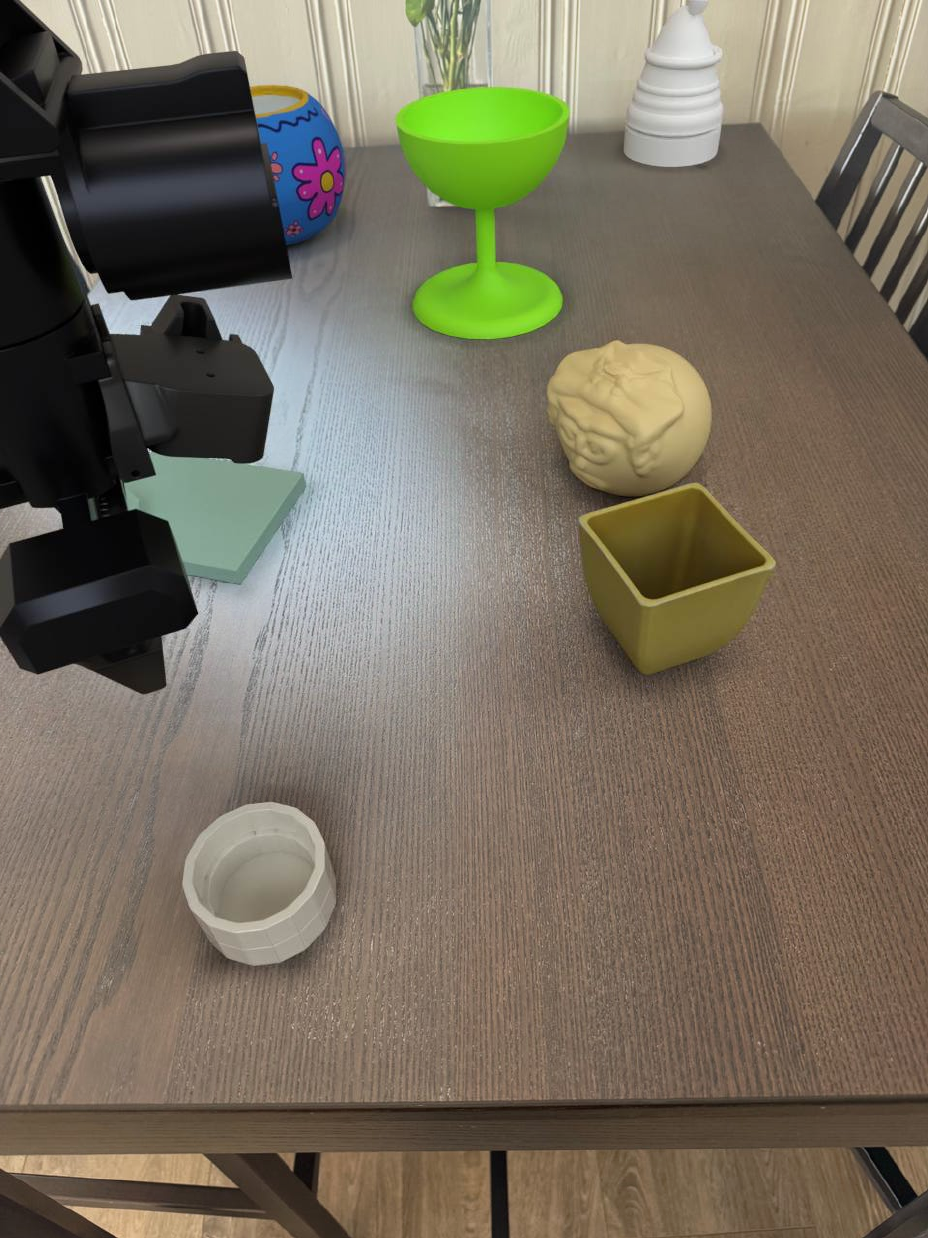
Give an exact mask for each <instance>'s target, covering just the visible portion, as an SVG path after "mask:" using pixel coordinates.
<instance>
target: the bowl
mask: <svg viewBox="0 0 928 1238" xmlns="http://www.w3.org/2000/svg"><path fill="white" fill-rule="evenodd" d="M181 887H182V889H183V892H184V896H185V898H186V901H187V904H188V906H189V907H188V908H189V909H190V911H191V912H192V914H193V916H194V917H195V919H196V921H197V923H198V924H199V926H200V927H201V929H202V931H203V932H204V934H205V936H206V937H207V939H208V941H209V943H210V944H212V946H214V947H215V948H216V949H217V950H218V951H219V952H220V953H221V954H222V955H223V956H224V957H225V958H227V959H229V960H231V961H235V962H239V963H242V964H245V965H249V966H253V967H255V966H257V967H258V966H264V965H272V964H280V963H282V962H284V961H286V960H289V959H290V958H292V957H294V956H296V955H298V954H300V953H302V952H304V951H306V949H308V948H309V947H310V946H311V945H312V944H313V942H314V941H316V939H317V938H318V937H319V936H320V935H321V934H322V932H324V931H325V930H326V927H327V926H328V924H329V921H330V919H331V916H332V914H333V912H334V909H335V906H336V904H337V877H336V874H335V870H334V867H333V864H332V862H331V858H330V855H329V852H328V848H327V845H326V843H325V840H324V838H323V836H322V834H321V832H320V830H319V828H318V826H317V823H316V822H315V820H313V819H311V818H310V817H309V816H307V815H306V814H305V813H303V811H302V810H300V809H298V808H297V807H295V806H291V805H286V804H283V803H279V802H274V801H264V802H257V803H255V802H254V803H246V804H243V805H241V806H238V807H237V808H234V809H232V810H230V811H228V812H226V813H223V814H221V815H220V816H218V817H217V818H216V819H215V820H213V822H212V823H210V824H209V825H208V826H207V827H206V828H205V829H204V830H203V831H201V832H200V833H199V835H198V836H197V837H196V839H195V840H194V842H193V844H192V846H191V848H190V850H189V851H188V854H187V855H186V857H185V860H184V867H183V874H182V882H181Z"/></svg>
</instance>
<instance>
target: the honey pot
mask: <svg viewBox="0 0 928 1238" xmlns="http://www.w3.org/2000/svg"><path fill="white" fill-rule="evenodd" d="M709 1H710V0H687V5H680V7H679V8H677V9H676V10H675V11H674V12H673V13H671V15H670V16H669V17H668V18H667V20H666V22H665V23H664V24H663V26H662V28H661V30H660V31H659V32H658V34H657V36H656V39H655V41H654V43H653V44H652V45H651V46H649V47H648V48H646V50H645V51H644V53H643V56H644V57H643V58H644V60H645V63H644V65H643V68H642V71H641V73H640V75H639V76H638V78H637V80H636V87H635V88H634V90H633V92H632V98H631V100H630V101H629V103H628V105H627V107H626V116H625V127H624V138H623V154H624V155H625V156H626V158H628V159H630V160H631V161H633V162H637V163H639V164H642V165H648V166H652V167H661V168H679V167H680V168H681V167H693V166H696V165H701V164H703V163H704V164H705V163H707V162H709V161H711V160H713V159H714V158H715V157H716V156H717V154H718V151H719V145H720V139H721V133H722V123H723V116H724V114H725V112H724V105H723V101H722V100H721V99H722V92H721V88H720V85H721V80H720V77H719V75H718V71H717V64H718V63H720V62H721V61H722V59H723V57H724V52H723V49H722V48H721V47H719V46H718V45H717V44H713V43H712V41H711V37H710V34H709V30H708V28H707V25H706V22H705V21H704V18H703V17H702V15H701V14H702V13H704V11H705V10H706V9H707V7H708V4H709Z"/></svg>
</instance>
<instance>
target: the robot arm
mask: <svg viewBox="0 0 928 1238" xmlns="http://www.w3.org/2000/svg"><path fill="white" fill-rule="evenodd" d="M82 73H83V61H82V60H81V57H80V56H79V55H78V54H77V53H76V52H75V51H74V50H73V49H72V48H70V46H69V45H68V44H66V43H65V41H63V39H61V37H59V36H58V35H57V34H56V33H55V32H54V31H53V30H52V29H50V27H49V26H47V24H45V22H43V21H42V20H41V19H40V18H39V17H38V16H37V15H36V14H35V13H34V12H33V11H32V10H31V9H30V8H29V7H28V6H27V5H25V3H24V2H22V1H21V0H0V510H3V509H7V508H11V507H14V506H15V507H16V506H18V505H21V504H27V503H29V505H30V507H31V508H33V509H52V508H54V509H55V511H57V512H58V514H60V517H61V522H62V524H63V528H59V529H56V530H53V531H48V532H45V533H42V534H38V535H34V536H31V537H27V538H24V539H19V540H16V541H12V542H9V543H8V545H7V546H6V548H5V550H4V551H3V553H2V554H1V557H0V640H1V641H2V643H3V644H4V645H5V647H6V649H7V650H8V652H9V654H10V655H11V656H12V658H13V660H14V662H15V663H16V665H17V666H18V668H19V669H20V670H22V671H24V672H25V671H26V672H29V673H32V674H33V675H34V674H35V675H38V676H39V675H42V674H45V673H48V672H51V671H54V670H55V671H56V670H58V669H62V668H64V667H67V666H70V665H74V664H75V665H77V666H80V667H83V668H84V669H87V670H89V671H91V672H93V673H95V674H98V675H100V676H102V677H104V678H106V679H108V680H111V681H113V682H114V683H117V684H119V685H121V686H123V687H125V688H128V689H129V690H132V691H134V692H136V693H138V694H140V695H149V694H151V693H154V692H155V693H156V692H159V691H161V690H164V689H165V688H166V686H167V685H168V683H167V675H166V666H165V665H166V663H165V655H164V646H163V637H164V636H167V635H171V634H174V633H177V632H179V631H183V630H187V629H188V627H189V626H190V624H192V622H193V621H194V620H195V619H196V618H197V617H198V615H199V611H198V607H197V604H196V600H195V597H194V594H193V591H192V587H191V584H190V580H189V577H188V575H187V573H186V570H185V567H184V564H183V561H182V558H181V555H180V552H179V549H178V546H177V543H176V540H175V538H174V535H173V532H172V530H171V527H170V524H169V522H168V521H167V520H164V519H162V518H159V517H156V516H154V515H151V514H149V513H146V512H143V511H141V510H138V509H133V510H129V508H128V504H127V498H126V492H125V486H124V483H129V482H133V481H136V480H140V479H144V478H148V477H151V476H155V475H156V472H155V469H154V466H153V462H152V460H151V457H150V454H149V453H150V452H151V451H152V452H154V453H156V454H159V455H163V456H168V457H186V458H209V459H216V460H221V459H223V460H230V461H231V462H234V463H237V464H249V465H251V464H254V463H257V462H259V461H261V460H262V459H263V458H264V456H265V450H266V443H267V437H268V430H269V425H270V419H271V418H270V417H271V412H272V405H273V400H274V393H275V386H274V383H273V382H272V380H271V378H270V376H269V374H268V372H267V369H266V368H265V366H264V365H263V363H262V360H261V358H260V357H259V355H258V353H257V351H256V350H255V349H254V348H252V347H251V346H249V345H248V344H245V343H244V342H243V341H242V339H241V337H240V335H239V334H235V333H229V335H228V339H223V336H222V334H221V332H220V328H219V327H218V324H217V321H216V319H215V317H214V315H213V312H212V311H211V309H210V306H209V304H208V302H207V300H206V299H205V298H204V297H199V296H191V295H185V294H192V293H198V292H199V293H200V292H205V291H206V292H207V291H212V290H222V289H228V288H235V287H243V286H249V285H251V286H252V285H256V284H263V283H270V282H271V283H272V282H280V281H285V280H286V281H287V280H293V273H292V268H291V262H290V258H289V252H288V251H289V250H288V245H286V240H285V235H284V230H283V224H282V219H281V214H280V208H279V203H278V198H277V193H276V187H275V182H274V177H273V172H272V167H271V162H270V157H269V152H268V147H267V143H261V141H260V135H259V130H258V125H257V120H256V115H255V110H254V105H253V100H252V95H251V90H250V87H251V85H250V79H249V75H248V70H247V65H246V59H245V57H244V56H243V55H242V54H241V53H240V52H239V51H238V50H230V51H220V52H211V53H210V52H209V53H204V54H199V55H196V56H194V57H191V58H189V59H186V60H184V61H182V62H179V63H174V64H168V65H158V66H149V67H148V66H147V67H140V68H130V69H129V68H128V69H120V70H111V71H110V70H109V71H102V72H101V71H100V72H93V73H83V74H82ZM43 177H50V178H51V181H52V184H53V187H54V190H55V193H56V195H57V199H58V202H59V205H60V209H61V213H62V216H63V219H64V223H65V226H66V229H67V233H68V235H69V237H70V240H71V243H72V245H73V248H74V250H75V252H76V255H77V257H78V259H79V261H80V263H81V264H82V266H83V268H84V269H85V271H86V272H87V273H89V274H90V275H94V274H97V276H98V277H99V280H100V282H101V284H102V286H103V288H104V289H105V291H106V293H107V294H108V295H111V294H117V293H124V295H125V296H126V297H127V298H128V300H129V301H141V300H148V299H154V298H156V299H157V298H162V297H163V298H164V297H168V298H167V300H166V301H165V303H164V305H162V307H161V309H160V310H159V312H158V314H157V315H156V317H155V318H154V319H153V321H152V322H151V325H148V324H141V325H140V331H139V332H140V333H139V334H134V333H133V334H131V333H110V330H109V328H108V325H107V322H106V320H105V317H104V314H103V311H102V309H101V306H100V303H94V304H91V301H90V299H89V296H88V294H87V293H84V290H83V287H82V284H81V282H80V280H79V276H78V274H77V271H76V269H75V265H74V263H73V260H72V258H71V257H72V256H71V255H70V251H69V249H68V247H67V244H66V241H65V239H64V236H63V234H62V231H61V230H62V229H61V227H60V224H59V222H58V220H57V217H56V214H55V212H54V209H53V206H52V203H51V201H50V198H49V195H48V192H47V191H46V190H47V189H46V187H45V184H44V182H43V179H42V178H43Z"/></svg>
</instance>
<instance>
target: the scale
mask: <svg viewBox="0 0 928 1238" xmlns="http://www.w3.org/2000/svg"><path fill="white" fill-rule="evenodd" d="M149 454H150V457H151V460H152V462H153V466H154V469H155V472H156V475H155V476H151V477H148V478H144V479H140V480H136V481H133V482H129V483H124V486H125V492H126V498H127V504H128V508H129V510H133V509H138V510H141V511H143V512H146V513H149V514H151V515H154V516H156V517H159V518H162V519H164V520H167V521H168V522H169V524H170V527H171V530H172V532H173V535H174V538H175V540H176V543H177V546H178V549H179V552H180V555H181V558H182V561H183V564H184V567H185V570H186V573H187V576H192V577H193V576H194V577H199V578H203V579H209V580H214V581H220V582H226V583H230V584H234V585H235V584H236V585H241V584H242V582H243V581H244V580H245V578H246V577H247V575H248V574H249V572H250V571H251V569H252V568H253V566H254V565H255V564H256V562H257V560H258V559H259V557H260V556H261V554H262V553H263V552H264V550H265V549H266V547H267V546H268V544H269V543H270V541H271V540H272V538H273V537H274V535H275V534H276V532H277V530H278V529H279V527H280V526H281V525H282V523H283V522H284V520H285V519H286V517H287V516H288V514H289V513H290V511H291V510H292V508H293V507H294V505H295V504H296V502H297V501H298V499H299V498H300V496H301V495H302V493H303V492H304V490H305V489H306V487H307V484H306V479H305V474H304V472H301V471H294V470H289V469H282V468H281V469H280V468H275V467H267V466H263V465H262V466H261V465H255V464H237V463H234V462H233V461H229V460H221V459H216V458H186V457H168V456H163V455H159V454H156V453H154V452H152V451H151V450H150V451H149ZM60 527H61V529H63V524H62V521H61V523H60Z"/></svg>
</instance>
